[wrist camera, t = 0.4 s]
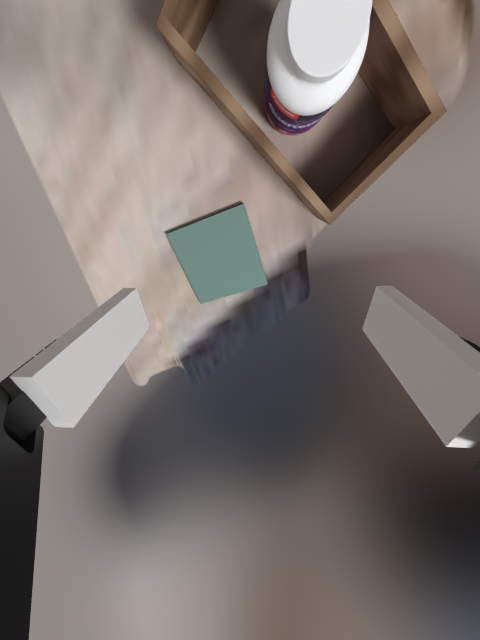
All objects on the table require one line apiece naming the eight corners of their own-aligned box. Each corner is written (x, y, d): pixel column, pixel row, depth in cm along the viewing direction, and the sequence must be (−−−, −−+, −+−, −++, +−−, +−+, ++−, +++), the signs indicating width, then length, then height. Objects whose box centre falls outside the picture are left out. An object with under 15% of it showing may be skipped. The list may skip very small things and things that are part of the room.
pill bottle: (257, 132, 28) (256, 91, 16) (271, 40, 24) (284, -109, 12) (316, 143, 29) (358, 110, 16) (340, 54, 24) (422, -80, 12)
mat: (167, 233, 36) (166, 234, 36) (243, 203, 33) (243, 203, 33) (201, 302, 43) (200, 303, 43) (267, 283, 40) (267, 284, 39)
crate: (179, 62, 26) (155, 25, 20) (258, -115, 19) (258, -248, 13) (317, 218, 33) (330, 224, 27) (405, 127, 27) (446, 111, 21)
